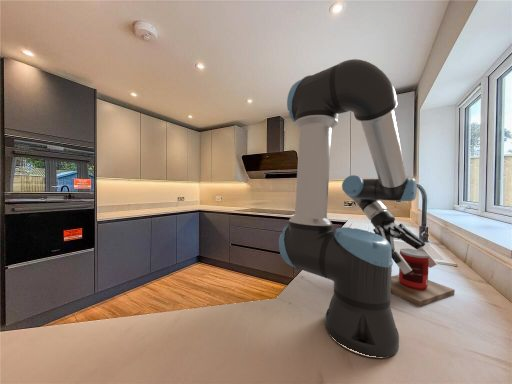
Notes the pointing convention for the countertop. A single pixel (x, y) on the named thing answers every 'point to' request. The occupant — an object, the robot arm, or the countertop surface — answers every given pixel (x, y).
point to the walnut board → (420, 292)
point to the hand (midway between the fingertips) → (421, 269)
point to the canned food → (415, 269)
